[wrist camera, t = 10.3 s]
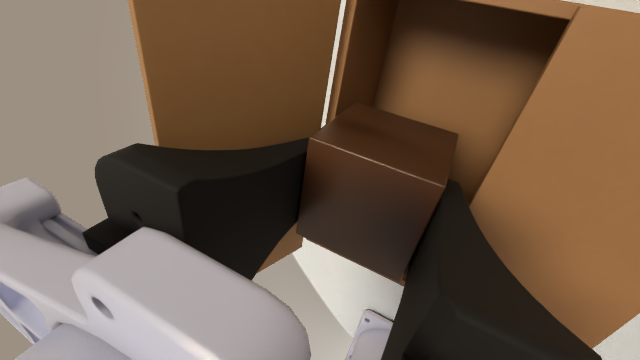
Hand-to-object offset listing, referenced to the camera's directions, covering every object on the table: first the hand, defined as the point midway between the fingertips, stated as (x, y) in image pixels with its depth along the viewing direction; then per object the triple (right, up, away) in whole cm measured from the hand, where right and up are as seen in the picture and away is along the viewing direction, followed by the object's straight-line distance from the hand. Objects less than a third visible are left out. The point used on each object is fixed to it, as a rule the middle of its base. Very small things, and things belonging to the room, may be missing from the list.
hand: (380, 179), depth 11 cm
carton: (+6, +2, +5) cm, 8 cm away
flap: (-5, +1, 0) cm, 5 cm away
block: (+1, +1, +1) cm, 1 cm away
